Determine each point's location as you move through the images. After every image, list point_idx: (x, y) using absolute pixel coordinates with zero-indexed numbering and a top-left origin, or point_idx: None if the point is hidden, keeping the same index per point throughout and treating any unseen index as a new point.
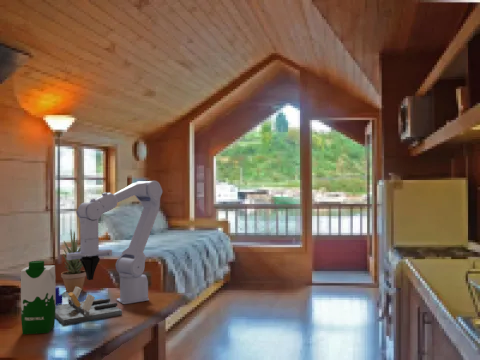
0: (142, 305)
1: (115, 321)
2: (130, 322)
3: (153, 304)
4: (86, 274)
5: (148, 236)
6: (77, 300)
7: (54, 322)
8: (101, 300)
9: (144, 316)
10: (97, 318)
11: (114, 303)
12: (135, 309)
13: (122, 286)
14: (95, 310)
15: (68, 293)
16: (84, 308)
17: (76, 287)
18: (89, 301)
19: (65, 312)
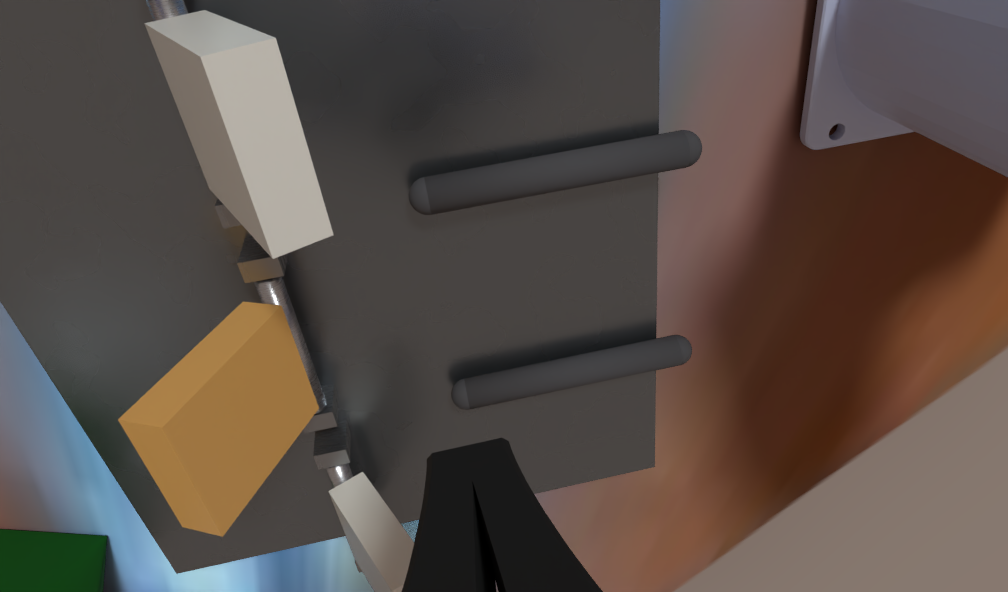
0: (908, 240)
1: None
2: (623, 580)
3: (993, 247)
4: (423, 537)
5: None
6: (275, 458)
7: (103, 568)
8: (583, 183)
9: (748, 506)
10: None
11: (656, 368)
12: (792, 337)
13: (975, 113)
14: (456, 415)
15: (127, 422)
16: (348, 539)
17: (229, 146)
18: None
19: None
